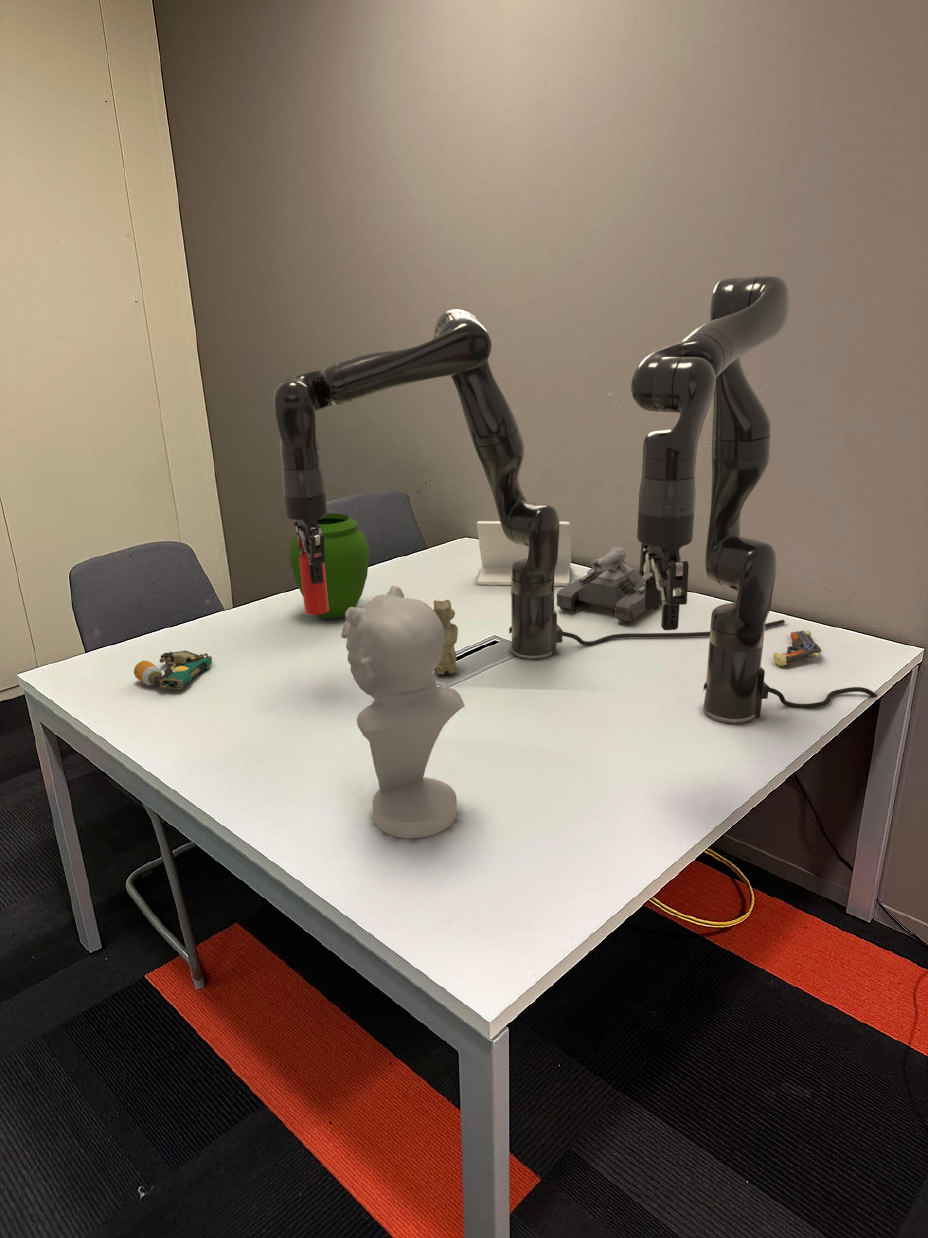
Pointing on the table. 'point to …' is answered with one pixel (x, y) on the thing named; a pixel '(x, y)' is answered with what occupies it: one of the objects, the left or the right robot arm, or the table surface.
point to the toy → (608, 588)
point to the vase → (339, 562)
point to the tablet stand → (515, 554)
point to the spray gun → (172, 669)
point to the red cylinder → (313, 589)
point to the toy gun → (798, 649)
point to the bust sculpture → (402, 709)
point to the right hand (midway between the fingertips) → (660, 618)
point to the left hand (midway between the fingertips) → (313, 578)
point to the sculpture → (447, 636)
